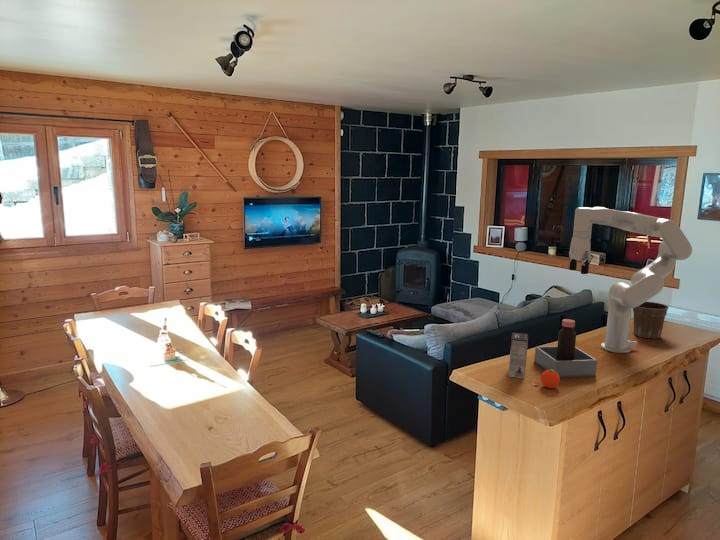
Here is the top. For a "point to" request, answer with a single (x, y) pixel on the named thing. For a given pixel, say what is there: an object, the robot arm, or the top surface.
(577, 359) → the tote
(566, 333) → the vinegar
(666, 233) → the robot arm
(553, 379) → the clementine
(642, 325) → the plant pot
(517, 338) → the coffee box
